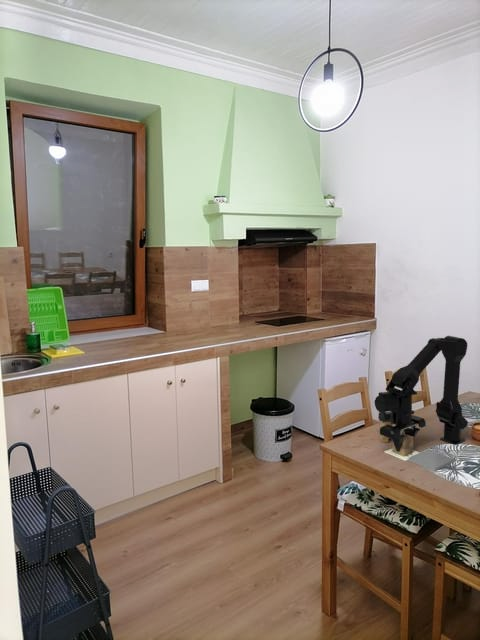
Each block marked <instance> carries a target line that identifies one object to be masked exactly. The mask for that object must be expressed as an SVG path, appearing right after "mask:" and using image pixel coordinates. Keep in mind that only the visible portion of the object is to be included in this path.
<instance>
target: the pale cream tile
mask: <svg viewBox="0 0 480 640" xmlns="http://www.w3.org/2000/svg"><path fill="white" fill-rule="evenodd" d="M420 452H421V451H417V450H415V449H413V453H411V454H409V455H407V456H405V457H404V456H401V455H399V454H396V453H394V452H392V447H391V448H389V449H387V450H384V453H386V454H388V455H390V456H393V457H396V458H398V459H399V460H402V461H405V462H406V461H409V457H411V456H414V455H416V454H418V453H420Z"/></svg>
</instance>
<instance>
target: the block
mask: <svg viewBox="0 0 480 640" xmlns="http://www.w3.org/2000/svg"><path fill="white" fill-rule="evenodd" d="M401 435H404V439H403V443H402V446H401V449H400V451H399V452H398V451H396V448H395V446H394V443H393V440H392V439H391V440H392V441H391V442H392V447H391V448H392V452H394V453H396V454H399V455H401V456H404V457H405V456H407V455H409V454H411V453H413V450H414V439H413V436H410V435H407V434H405V432H401Z"/></svg>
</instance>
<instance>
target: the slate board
mask: <svg viewBox="0 0 480 640" xmlns="http://www.w3.org/2000/svg"><path fill="white" fill-rule="evenodd" d="M419 452H420V453H418V454H416V455H414V456H411V457H409V459H408V461H409V462H411V463H414V464H416V465H419V466H421V467H424V468H425V469H429V470H431V471H432V472H436V471H439V470H441V469H442V468H445V467H446V466H449V465H450V464H452V463H455V458H454V457H450V456H448V455H446V454H442V453H440V452H437V451H435V450H432V449H429V448H427V449H425V450H422V451H419Z"/></svg>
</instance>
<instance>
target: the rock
mask: <svg viewBox="0 0 480 640" xmlns="http://www.w3.org/2000/svg"><path fill="white" fill-rule="evenodd" d="M385 425H391V426H393V424H391V423H390V422H385V423H383V422H382V421H380V424H379V430H378V437H379V438H380V439H381V442H382V443H383V442H384V443H389V441H390V438H388V437H386V436H383V435H380V428H381V427H383V426H385Z"/></svg>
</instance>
